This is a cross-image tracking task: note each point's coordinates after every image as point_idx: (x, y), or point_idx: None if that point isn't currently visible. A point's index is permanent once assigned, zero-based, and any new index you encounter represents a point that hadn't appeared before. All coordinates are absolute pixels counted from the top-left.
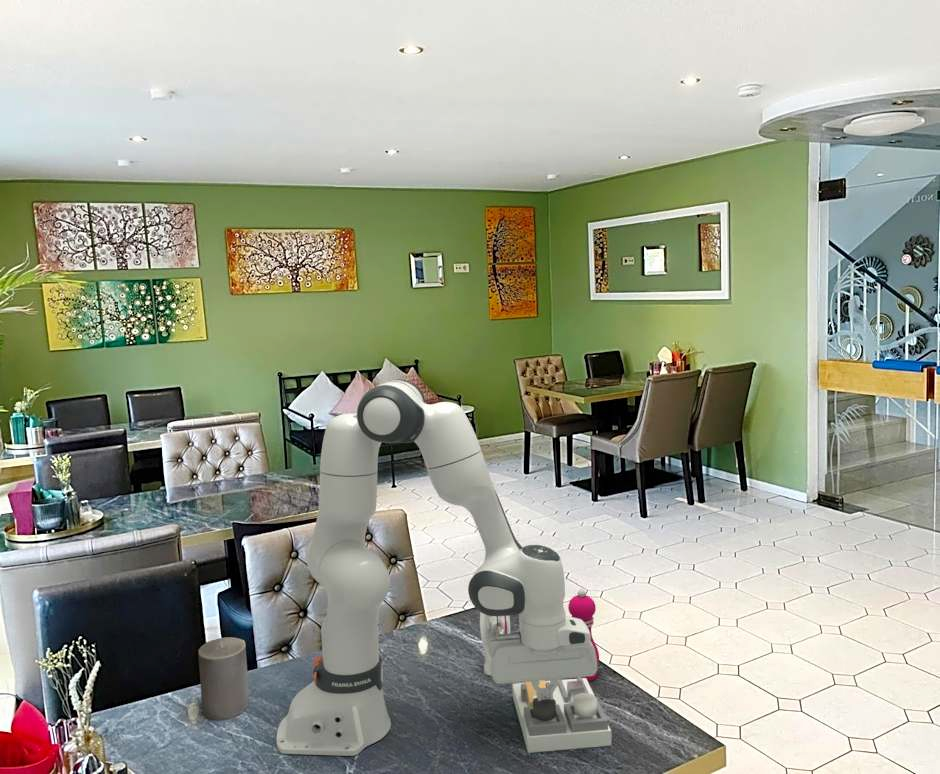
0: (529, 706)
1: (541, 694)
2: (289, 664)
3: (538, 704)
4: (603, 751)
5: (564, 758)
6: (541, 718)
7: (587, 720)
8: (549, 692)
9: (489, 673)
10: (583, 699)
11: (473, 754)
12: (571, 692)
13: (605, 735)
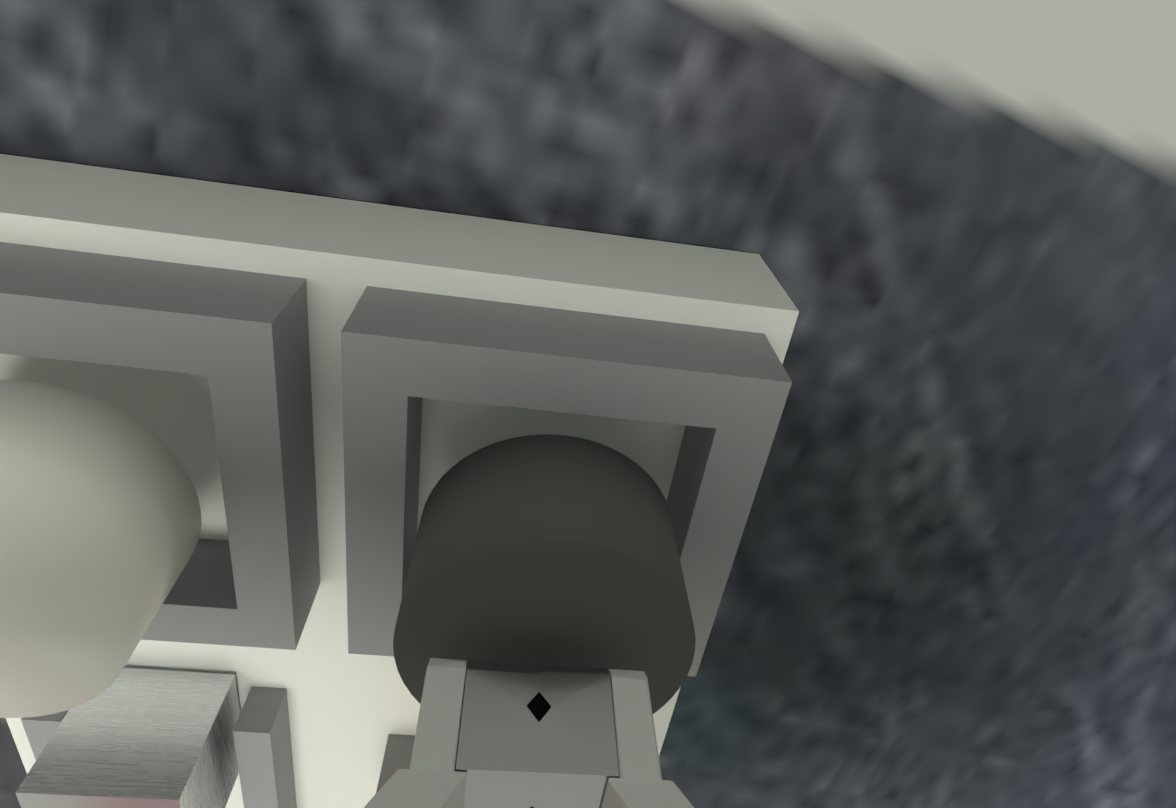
0: None
1: (603, 753)
2: None
3: (636, 630)
4: (34, 73)
5: (463, 74)
6: (620, 468)
7: (46, 333)
8: (469, 768)
9: None
10: None
11: (1167, 350)
12: (182, 764)
13: None
